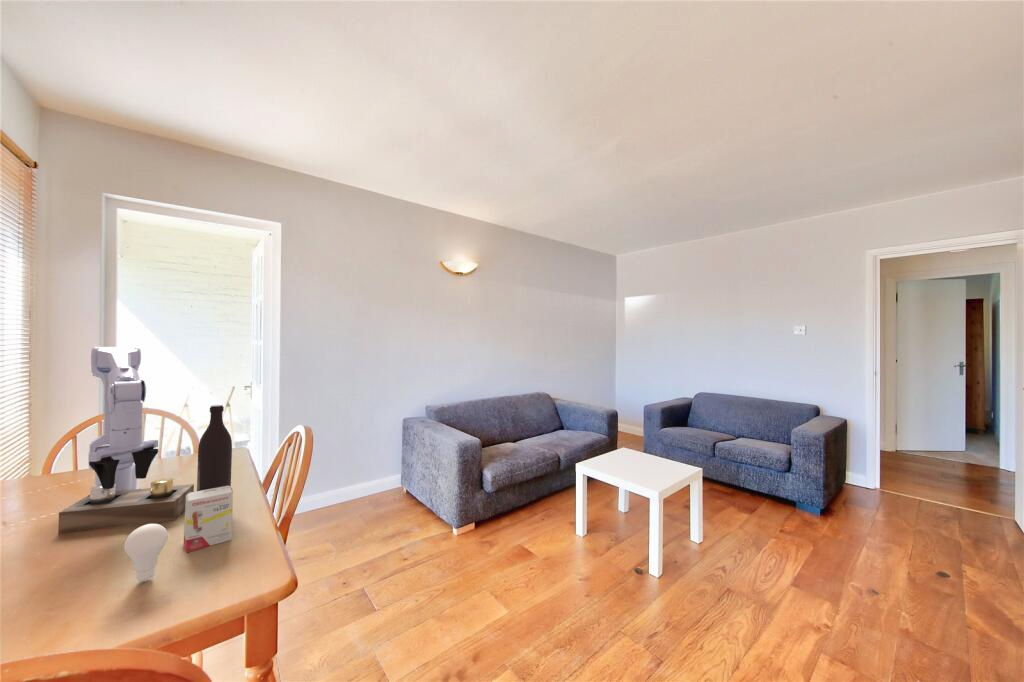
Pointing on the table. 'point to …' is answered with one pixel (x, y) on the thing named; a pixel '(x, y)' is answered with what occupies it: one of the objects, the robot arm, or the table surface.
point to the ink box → (208, 517)
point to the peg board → (124, 510)
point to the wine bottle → (214, 453)
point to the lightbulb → (145, 549)
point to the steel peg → (101, 494)
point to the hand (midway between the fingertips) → (125, 483)
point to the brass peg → (161, 488)
